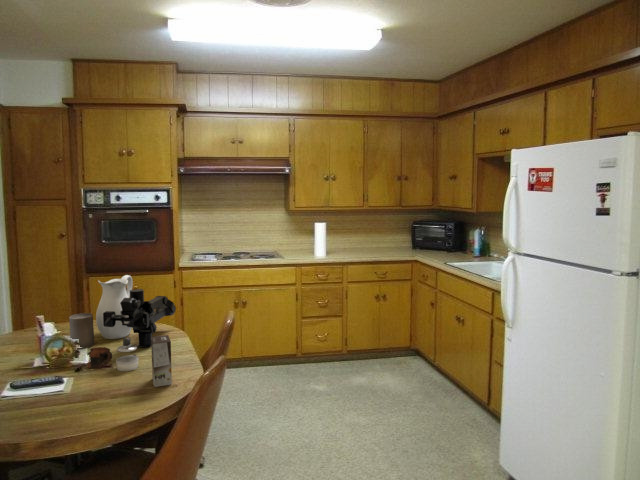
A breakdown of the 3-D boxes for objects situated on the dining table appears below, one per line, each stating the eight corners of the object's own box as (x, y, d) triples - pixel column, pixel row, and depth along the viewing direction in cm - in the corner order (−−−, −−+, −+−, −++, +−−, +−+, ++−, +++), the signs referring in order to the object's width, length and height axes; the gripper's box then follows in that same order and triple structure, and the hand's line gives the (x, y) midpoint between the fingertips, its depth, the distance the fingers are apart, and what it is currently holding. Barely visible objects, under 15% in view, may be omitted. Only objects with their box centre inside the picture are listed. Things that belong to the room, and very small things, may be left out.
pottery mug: (79, 369, 194) (83, 348, 197) (98, 372, 201) (101, 352, 205) (102, 365, 189) (105, 344, 193) (121, 368, 197) (123, 348, 201)
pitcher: (122, 342, 226) (120, 282, 223) (88, 339, 229) (86, 281, 226) (148, 327, 249) (147, 273, 246) (118, 325, 252) (116, 272, 249)
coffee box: (172, 384, 178) (171, 341, 176) (153, 387, 175) (152, 343, 173) (169, 375, 186) (168, 334, 184) (151, 378, 184) (150, 336, 182)
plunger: (122, 345, 197) (122, 335, 197) (140, 346, 197) (139, 336, 196) (113, 351, 190) (113, 341, 190) (131, 352, 189) (131, 341, 189)
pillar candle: (99, 342, 225) (97, 310, 223) (85, 349, 215) (83, 316, 214) (79, 341, 226) (78, 309, 225) (65, 348, 217) (63, 315, 215)
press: (125, 361, 201) (125, 353, 201) (145, 362, 200) (144, 353, 200) (112, 371, 190) (112, 362, 190) (132, 371, 190) (132, 363, 189)
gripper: (112, 295, 210) (92, 304, 194) (154, 297, 208) (138, 305, 193) (113, 321, 211) (93, 331, 195) (155, 322, 209) (139, 333, 194)
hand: (116, 325), depth 194 cm, fingers open, 9 cm apart
